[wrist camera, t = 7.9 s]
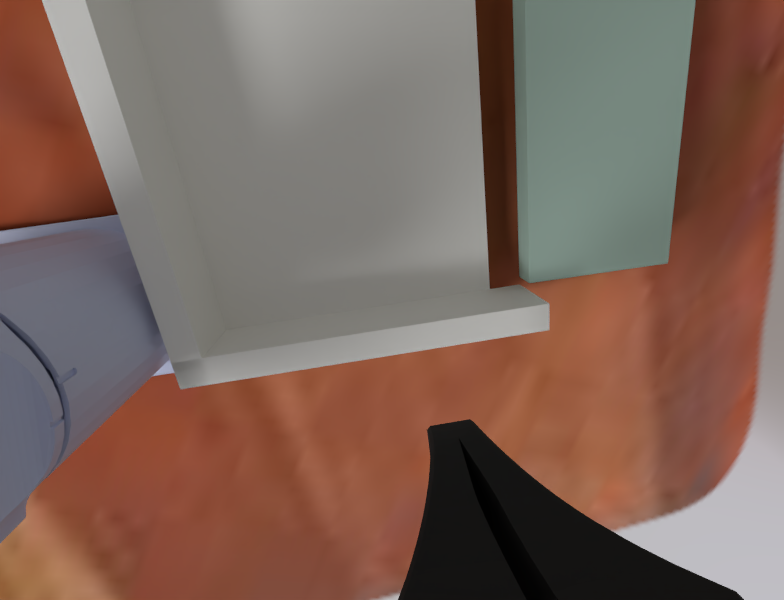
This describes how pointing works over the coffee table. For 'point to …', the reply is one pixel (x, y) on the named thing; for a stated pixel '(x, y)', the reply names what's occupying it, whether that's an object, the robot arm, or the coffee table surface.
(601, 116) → the panel
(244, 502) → the coffee table surface
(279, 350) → the grey open tray
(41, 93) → the coffee table surface
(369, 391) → the coffee table surface
